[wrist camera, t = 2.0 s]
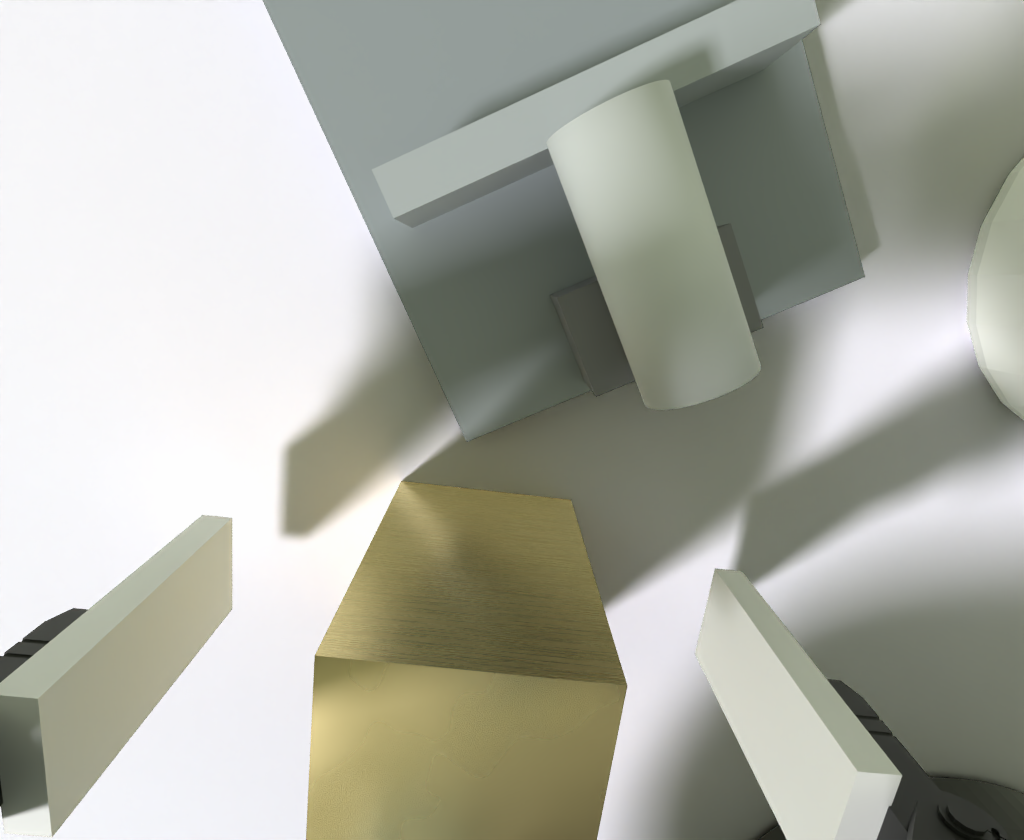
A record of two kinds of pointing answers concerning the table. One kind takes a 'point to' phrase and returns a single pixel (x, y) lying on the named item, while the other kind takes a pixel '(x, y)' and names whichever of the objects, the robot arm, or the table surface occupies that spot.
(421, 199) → the shaft rig
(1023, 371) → the mug
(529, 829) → the coupling block
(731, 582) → the robot arm
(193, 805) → the table surface
